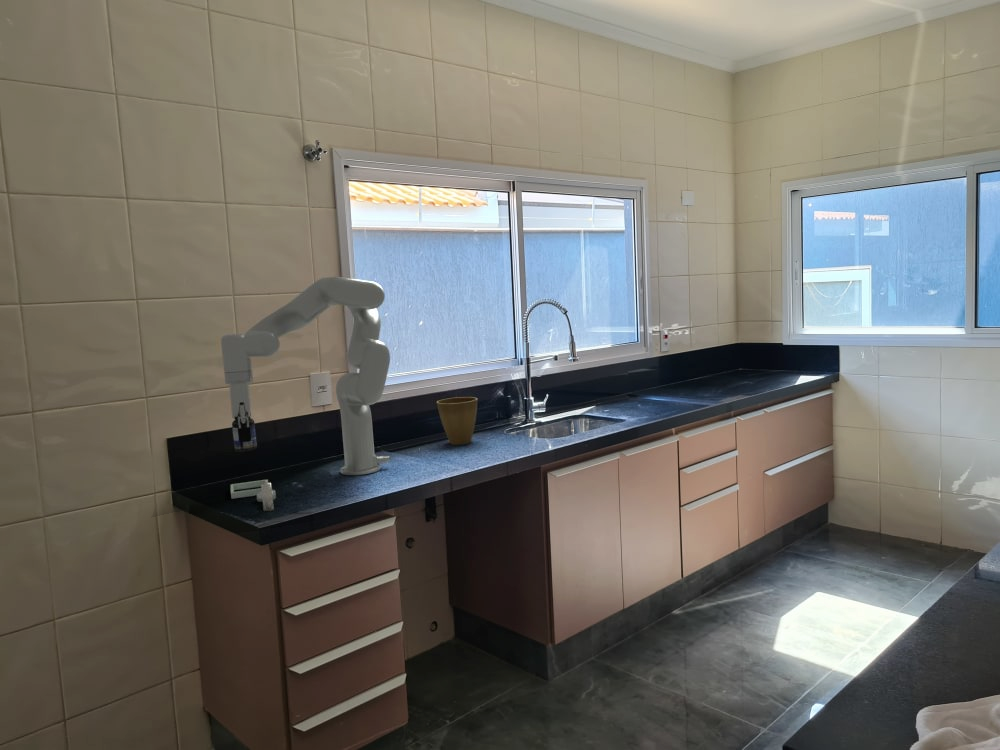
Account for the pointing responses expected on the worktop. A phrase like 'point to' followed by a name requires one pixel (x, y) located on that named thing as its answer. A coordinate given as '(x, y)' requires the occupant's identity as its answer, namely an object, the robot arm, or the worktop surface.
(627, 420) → the worktop surface
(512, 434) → the worktop surface
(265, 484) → the crank
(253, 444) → the pill bottle
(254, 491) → the pale green square frame
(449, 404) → the plant pot
